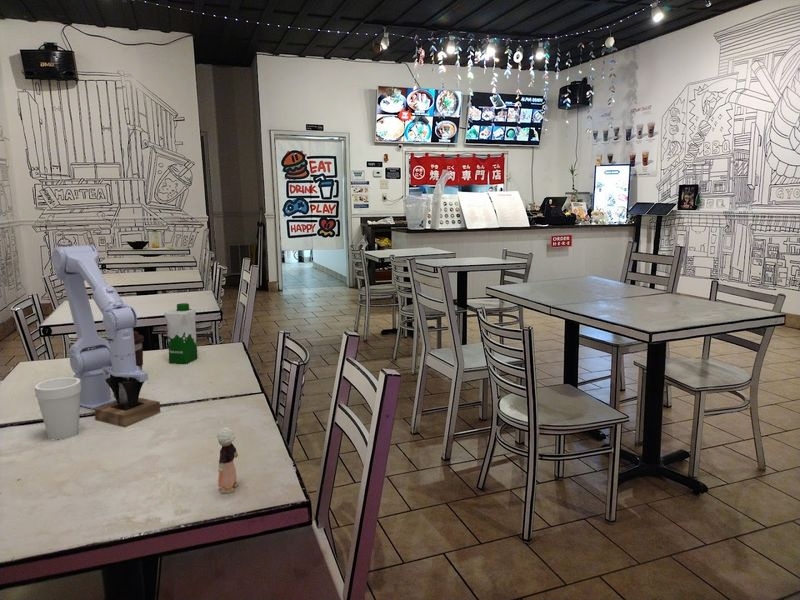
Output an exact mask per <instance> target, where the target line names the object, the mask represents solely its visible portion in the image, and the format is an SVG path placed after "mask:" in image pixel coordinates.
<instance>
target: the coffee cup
mask: <svg viewBox="0 0 800 600" xmlns="http://www.w3.org/2000/svg"><path fill="white" fill-rule="evenodd" d="M133 333H134V345H135V357H136V366H139V368H140V369H139V370H141V371H143V365H144V351H143V350H144V348H143V343H144V342H145V337H144V335H142V334H139V332H138V331H137V330H133ZM108 342H109V341H108ZM109 344H110V342H109ZM127 380H129V379H127Z"/></svg>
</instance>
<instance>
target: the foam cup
mask: <svg viewBox="0 0 800 600" xmlns="http://www.w3.org/2000/svg"><path fill="white" fill-rule="evenodd" d="M73 377H74V376H73ZM73 377H72V376H71V377H57V378H51V379H47V380H43V381H40V382H39V383H37V384H36V385H34V394H35V397H36V399H37V403H38V406H39V410H40V413H41V417H42V420H43V424H44V427H45V431H46V434H47V436H48V437H49V438H50V439H49V438H48V439H49V440H51V439H54V440H53V441H57V440H56V439H62V440H66V439H65V438H68V439H70V438H72V436H73V437H75V436H77V435H78V434H79V429H80V411H81V410H80V409H81V406H80V393H81V380H80V379H78V378H73ZM76 434H77V435H76ZM69 437H70V438H69Z"/></svg>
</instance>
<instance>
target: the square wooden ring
mask: <svg viewBox="0 0 800 600" xmlns="http://www.w3.org/2000/svg"><path fill="white" fill-rule="evenodd" d="M160 403H161V402H160V401H157V400H152V399H147V398H145V397H143V398H142V397H139V398H138V404H137V405H136V406H137V407H135V408H132V409H130V410H127V411H124V410H120V405H119V404H118V403H117V401H114V402H111V403H109V404H106V405H103V406H100V407H98V408H95V409H94V415H95V417H94V418H95V420H96V421H99V422H103V423H107V424H110V425H114V426H117V427H118V426H120V427H122V426H123V428H127V427H129V426H131V425H134V424H136V423H139V422H142V421H144V420H145V419H149V418H150V417H151V418H152V417H153V416H155V415H158V414H160V413H161V412H162V411H161V404H160ZM143 419H144V420H143Z"/></svg>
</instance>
